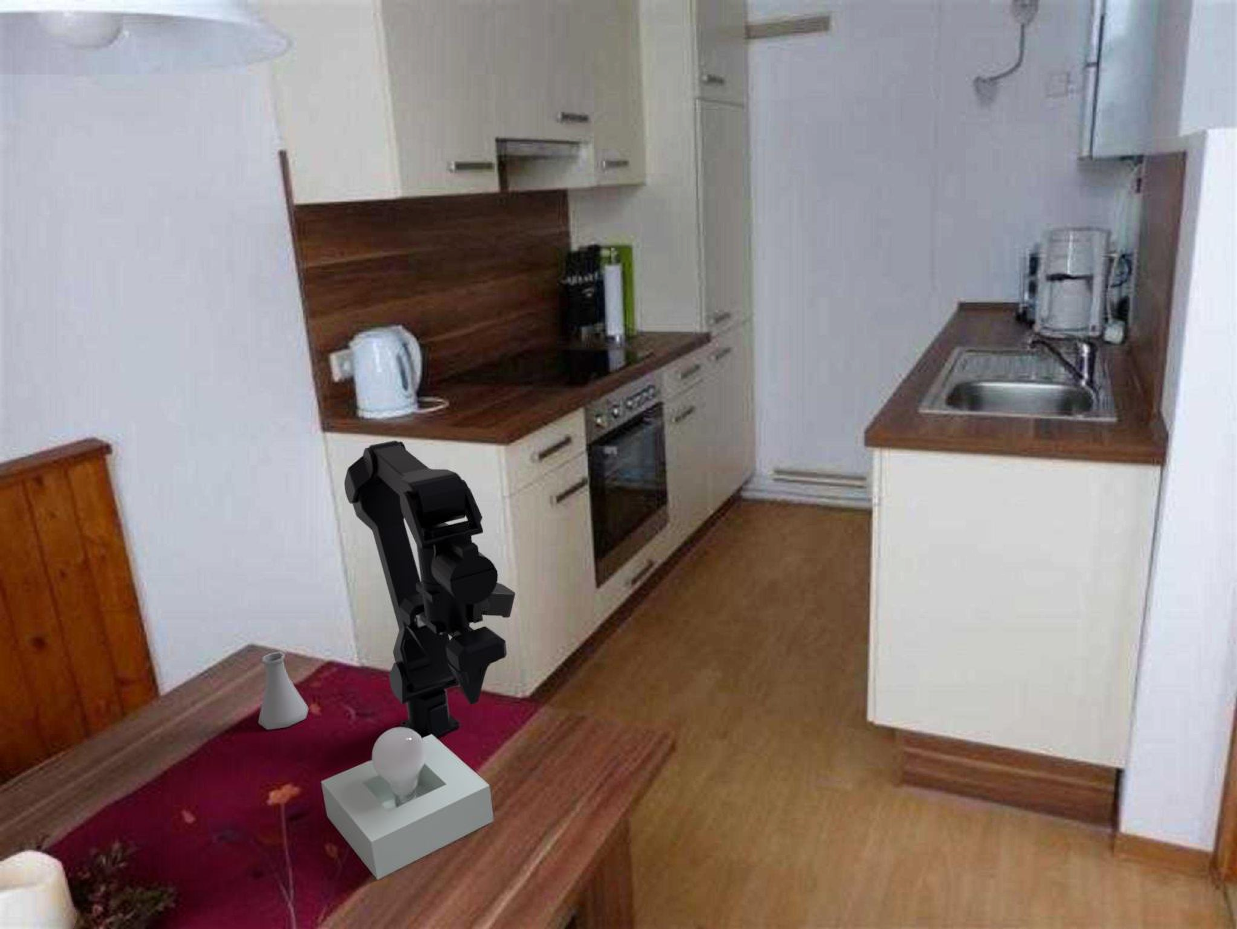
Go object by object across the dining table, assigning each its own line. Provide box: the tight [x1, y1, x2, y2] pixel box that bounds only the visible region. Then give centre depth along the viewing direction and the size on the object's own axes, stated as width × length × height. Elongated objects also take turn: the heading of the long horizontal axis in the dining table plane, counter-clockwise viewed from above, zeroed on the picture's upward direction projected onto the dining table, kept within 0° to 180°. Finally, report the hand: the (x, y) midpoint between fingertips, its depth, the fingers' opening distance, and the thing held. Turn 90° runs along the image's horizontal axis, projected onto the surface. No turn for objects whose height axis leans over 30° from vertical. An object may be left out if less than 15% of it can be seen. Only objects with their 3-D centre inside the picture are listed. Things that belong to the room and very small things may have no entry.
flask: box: [257, 651, 309, 731], centre depth 138 cm, size 7×7×10 cm
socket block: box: [320, 734, 494, 881], centre depth 114 cm, size 15×15×5 cm
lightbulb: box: [371, 726, 426, 808], centre depth 113 cm, size 6×6×11 cm
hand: (457, 688), depth 119 cm, fingers open, 9 cm apart
